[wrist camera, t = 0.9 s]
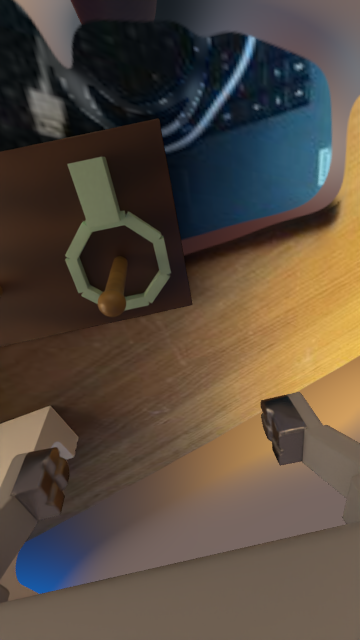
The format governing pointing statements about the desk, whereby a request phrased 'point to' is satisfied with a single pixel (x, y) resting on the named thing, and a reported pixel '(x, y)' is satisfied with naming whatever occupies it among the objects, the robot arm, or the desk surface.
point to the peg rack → (102, 246)
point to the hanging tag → (103, 215)
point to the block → (22, 438)
